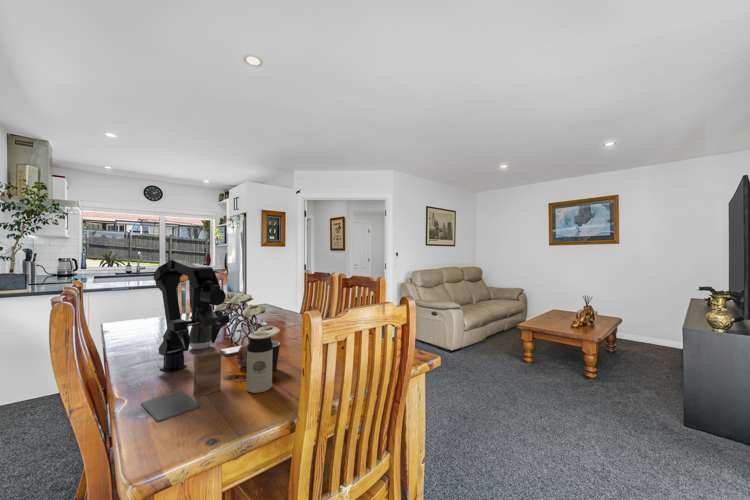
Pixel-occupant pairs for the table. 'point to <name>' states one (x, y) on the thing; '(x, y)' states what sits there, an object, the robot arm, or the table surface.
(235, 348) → the phone case
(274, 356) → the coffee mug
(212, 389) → the board
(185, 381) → the table surface
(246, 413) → the table surface
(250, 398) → the table surface
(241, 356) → the tin
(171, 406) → the mat
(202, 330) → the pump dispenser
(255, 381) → the travel mug
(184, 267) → the robot arm
